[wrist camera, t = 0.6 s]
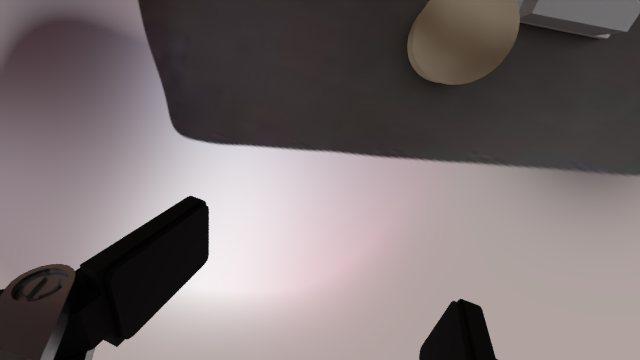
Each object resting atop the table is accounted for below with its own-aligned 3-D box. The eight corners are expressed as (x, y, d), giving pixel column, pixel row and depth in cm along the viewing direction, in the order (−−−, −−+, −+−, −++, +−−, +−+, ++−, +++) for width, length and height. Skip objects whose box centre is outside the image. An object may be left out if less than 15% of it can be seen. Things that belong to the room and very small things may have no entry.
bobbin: (424, -14, 26) (430, -43, 18) (510, 3, 25) (555, -21, 17) (396, 72, 30) (391, 77, 22) (470, 90, 28) (491, 103, 21)
